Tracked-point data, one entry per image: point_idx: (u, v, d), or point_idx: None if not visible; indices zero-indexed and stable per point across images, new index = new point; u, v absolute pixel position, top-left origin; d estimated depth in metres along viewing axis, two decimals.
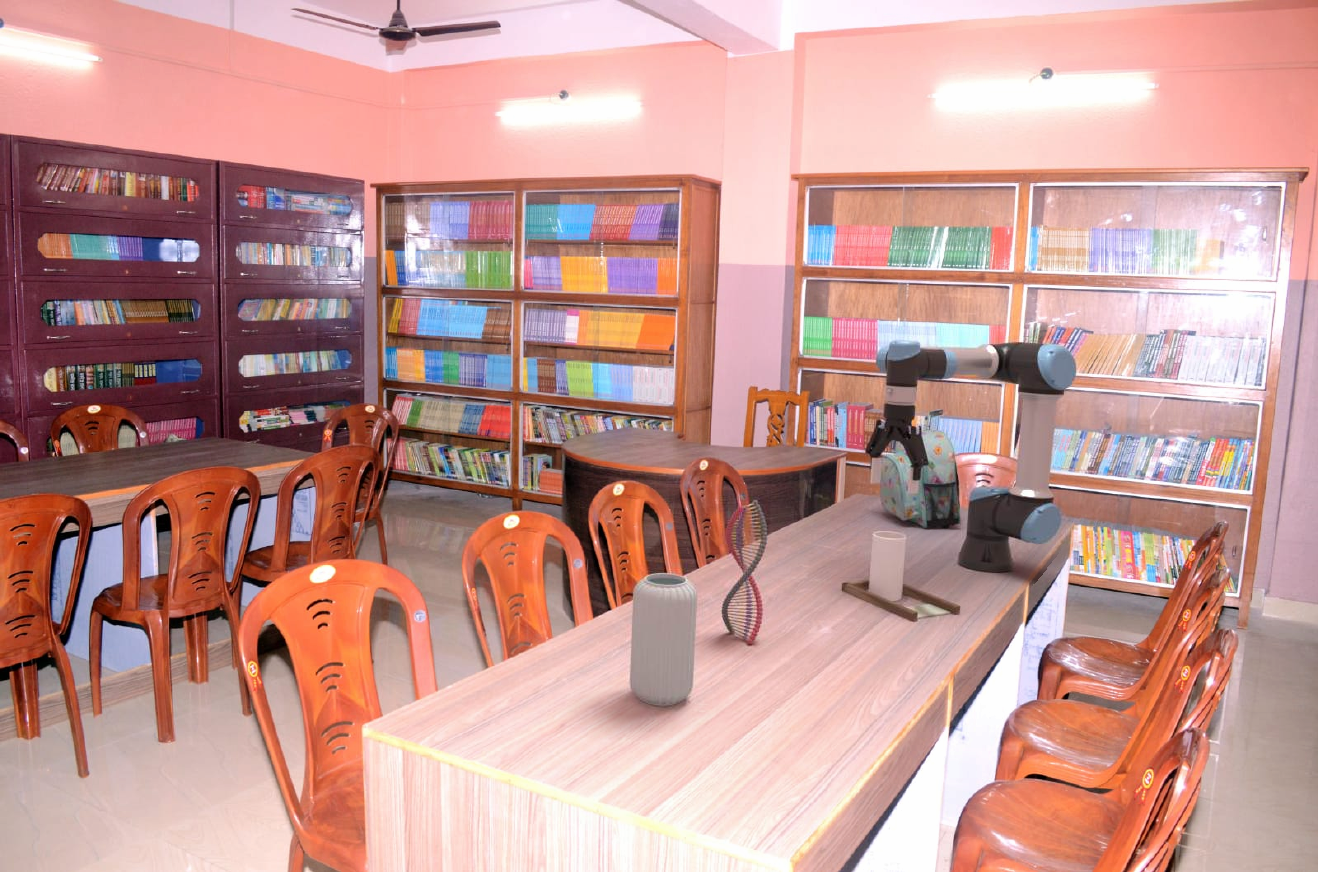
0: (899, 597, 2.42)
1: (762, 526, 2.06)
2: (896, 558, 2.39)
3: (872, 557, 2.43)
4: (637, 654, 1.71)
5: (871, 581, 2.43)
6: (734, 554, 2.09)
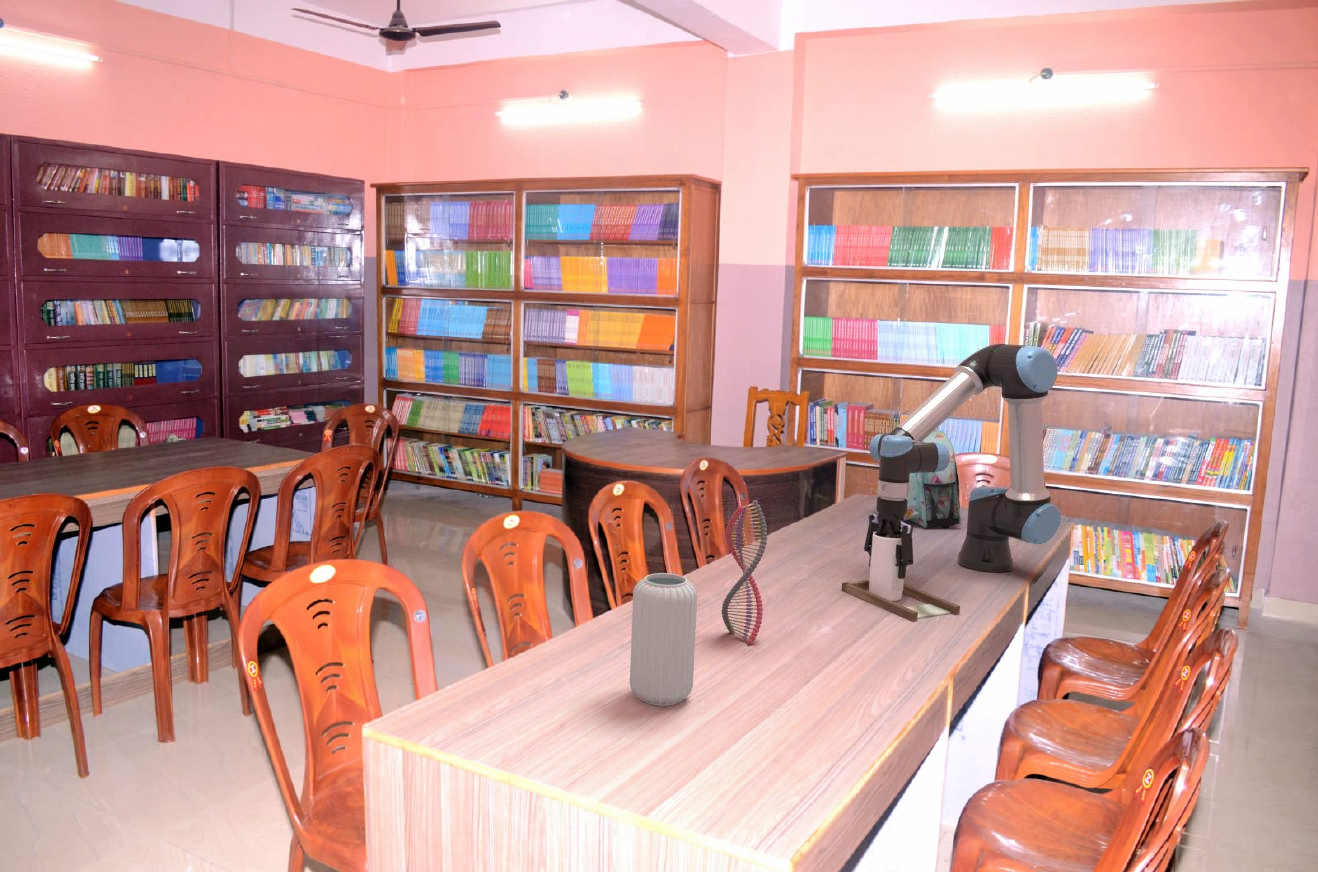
0: (899, 597, 2.42)
1: (762, 526, 2.06)
2: None
3: (872, 557, 2.43)
4: (637, 654, 1.71)
5: (871, 581, 2.43)
6: (734, 554, 2.09)
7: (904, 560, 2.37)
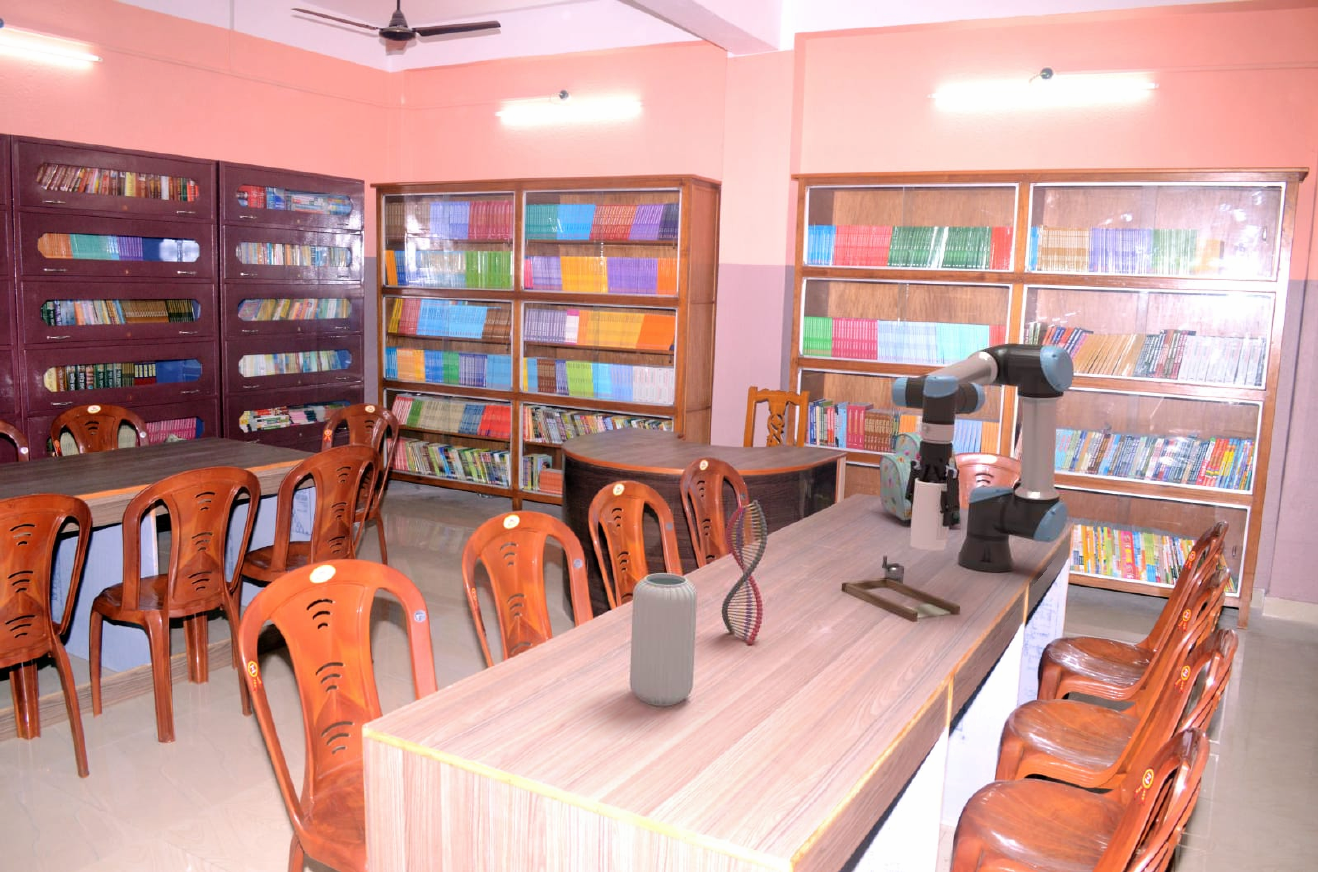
0: (943, 547, 2.28)
1: (762, 526, 2.06)
2: None
3: (914, 504, 2.29)
4: (637, 654, 1.71)
5: (913, 530, 2.29)
6: (734, 554, 2.09)
7: (950, 506, 2.23)
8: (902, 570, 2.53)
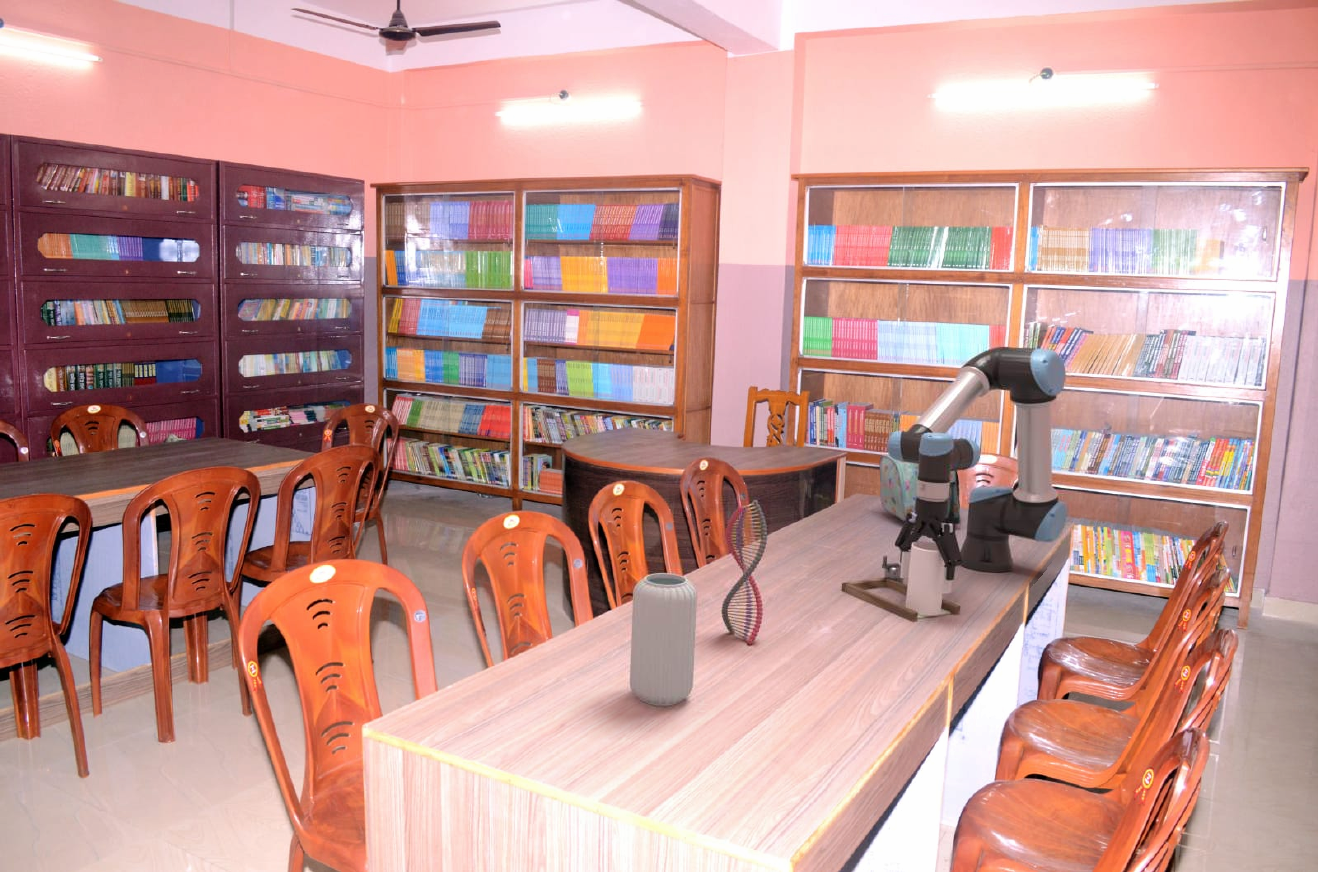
0: (938, 611, 2.30)
1: (762, 526, 2.06)
2: (937, 571, 2.27)
3: (910, 569, 2.31)
4: (637, 654, 1.71)
5: (909, 594, 2.31)
6: (734, 554, 2.09)
7: (953, 560, 2.22)
8: None
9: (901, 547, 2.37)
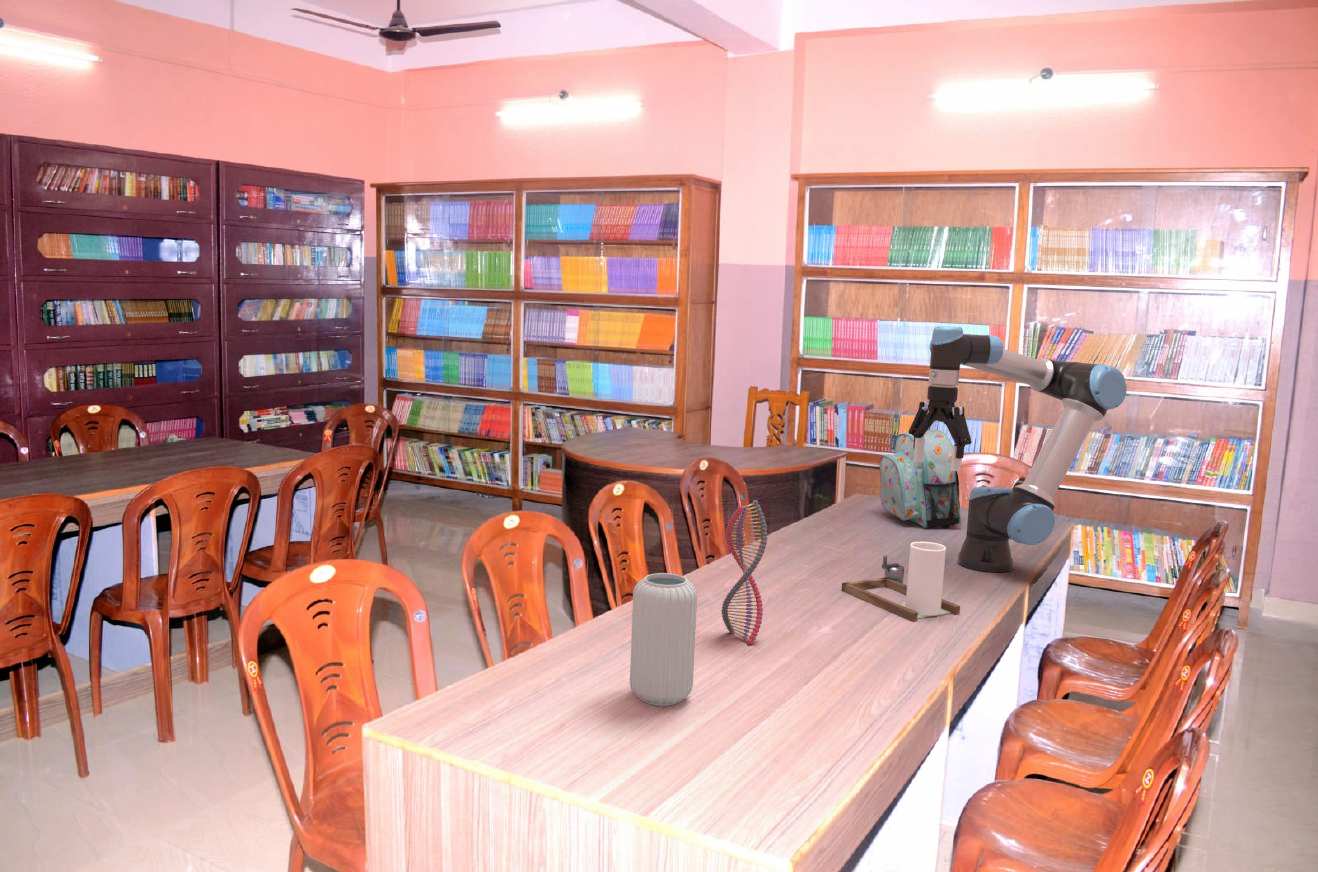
0: (938, 611, 2.30)
1: (762, 526, 2.06)
2: (936, 571, 2.28)
3: (910, 569, 2.31)
4: (637, 654, 1.71)
5: (909, 594, 2.31)
6: (734, 554, 2.09)
7: (962, 439, 2.44)
8: (902, 570, 2.53)
9: (914, 434, 2.59)
